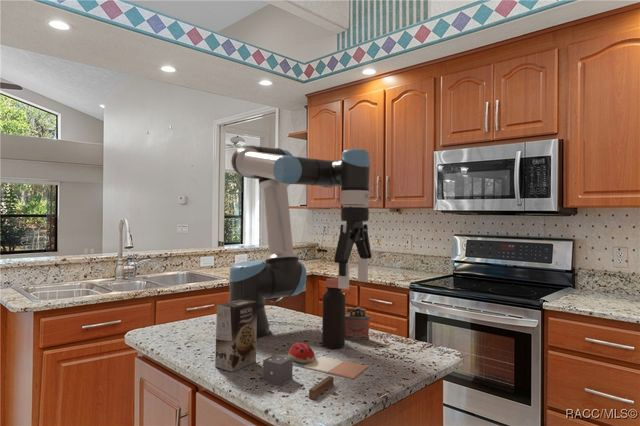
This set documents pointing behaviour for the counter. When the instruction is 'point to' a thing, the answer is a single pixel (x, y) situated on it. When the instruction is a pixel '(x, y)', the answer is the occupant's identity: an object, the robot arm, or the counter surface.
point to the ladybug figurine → (301, 353)
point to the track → (333, 366)
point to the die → (277, 369)
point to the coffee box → (236, 334)
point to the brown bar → (321, 387)
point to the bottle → (333, 316)
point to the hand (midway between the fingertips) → (353, 284)
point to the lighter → (356, 325)
